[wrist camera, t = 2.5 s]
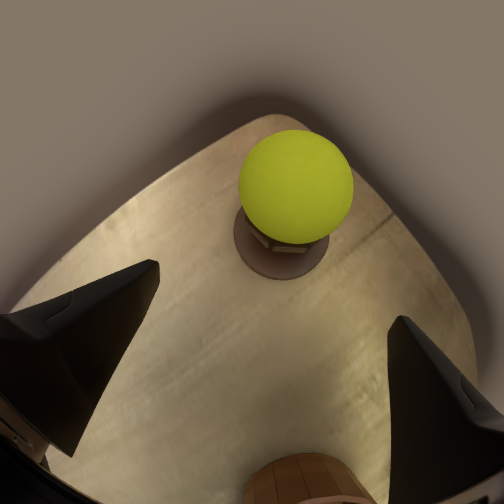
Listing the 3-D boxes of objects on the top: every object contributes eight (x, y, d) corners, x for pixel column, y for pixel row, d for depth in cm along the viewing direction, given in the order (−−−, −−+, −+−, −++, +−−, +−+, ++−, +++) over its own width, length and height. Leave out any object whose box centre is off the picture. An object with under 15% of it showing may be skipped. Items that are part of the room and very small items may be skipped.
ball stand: (279, 300, 22) (289, 291, 16) (215, 230, 24) (204, 200, 18) (344, 237, 24) (370, 211, 18) (282, 176, 25) (290, 137, 19)
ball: (287, 277, 18) (309, 249, 11) (220, 205, 19) (207, 149, 12) (353, 214, 19) (393, 166, 12) (288, 153, 20) (301, 90, 14)
